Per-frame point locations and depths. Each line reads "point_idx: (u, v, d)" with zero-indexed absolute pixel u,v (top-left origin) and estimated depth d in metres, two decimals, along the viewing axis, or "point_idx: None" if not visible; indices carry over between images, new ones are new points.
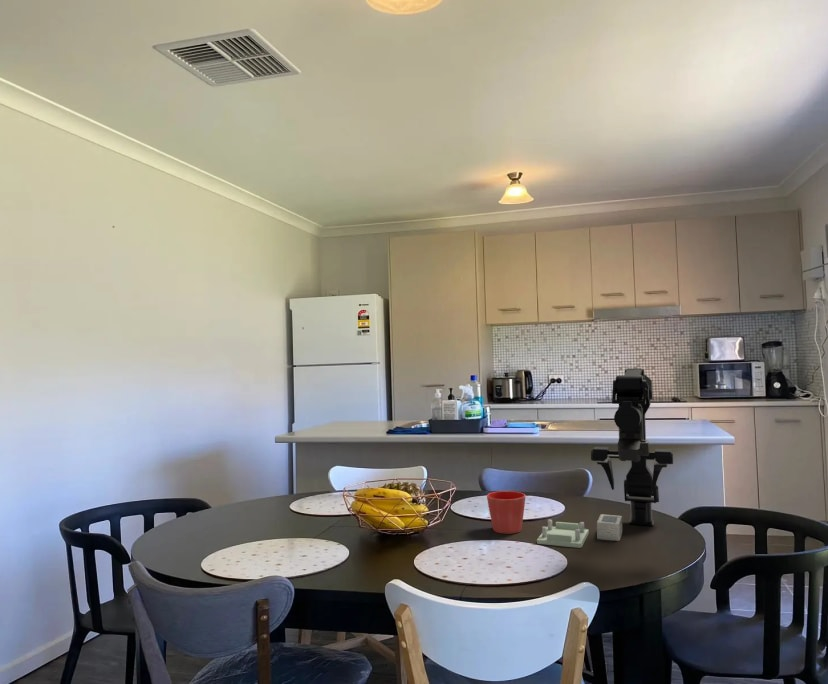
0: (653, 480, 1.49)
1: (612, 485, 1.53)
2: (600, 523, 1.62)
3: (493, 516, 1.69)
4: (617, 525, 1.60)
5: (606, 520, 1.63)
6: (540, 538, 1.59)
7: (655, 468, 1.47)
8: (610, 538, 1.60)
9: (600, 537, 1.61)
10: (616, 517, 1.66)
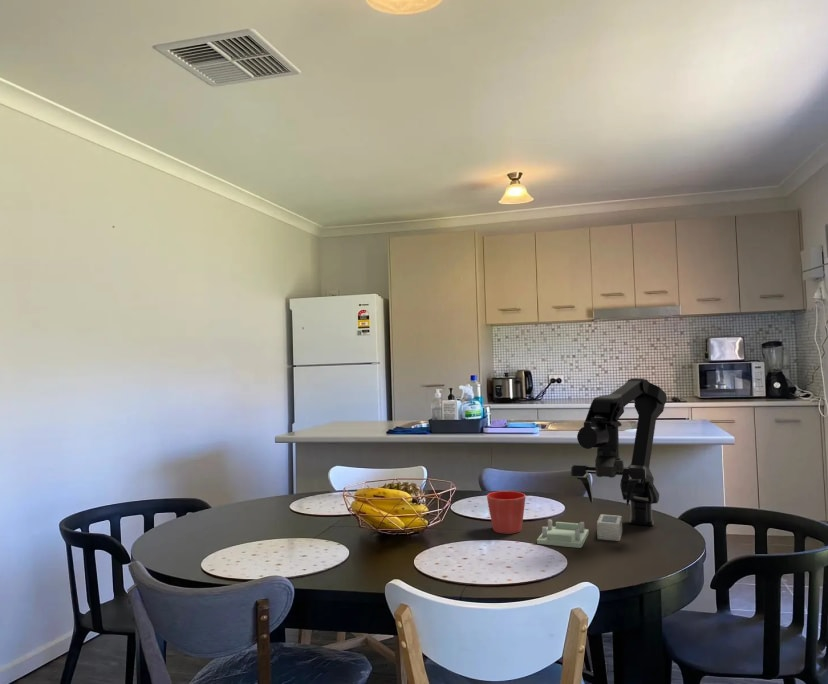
0: (628, 494, 1.62)
1: (591, 498, 1.66)
2: (600, 523, 1.61)
3: (493, 516, 1.69)
4: (617, 525, 1.60)
5: (606, 520, 1.63)
6: (540, 538, 1.59)
7: (630, 483, 1.61)
8: (610, 538, 1.60)
9: (600, 537, 1.61)
10: (616, 517, 1.66)
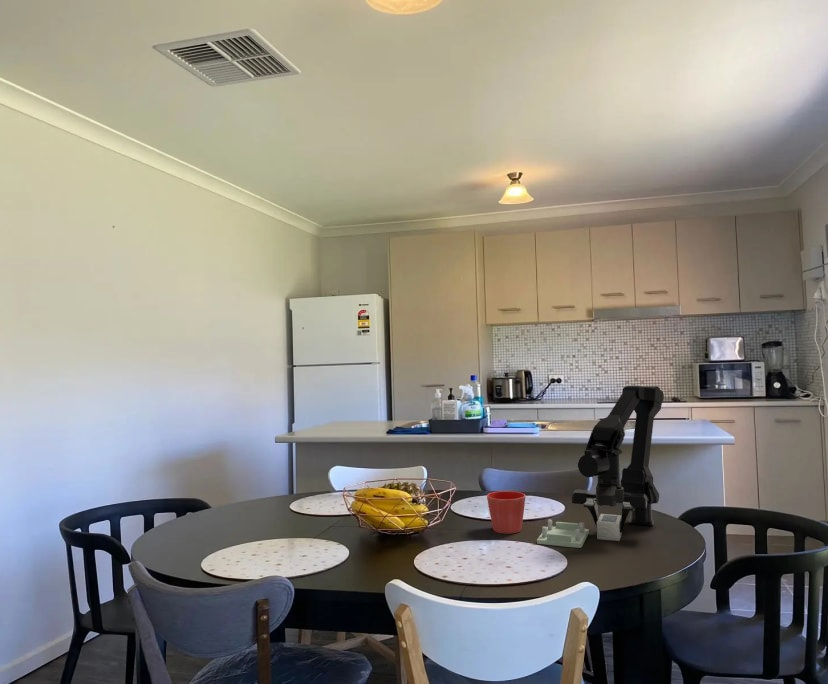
0: (621, 522, 1.63)
1: None
2: (600, 523, 1.62)
3: (493, 516, 1.69)
4: (617, 524, 1.60)
5: (606, 520, 1.63)
6: (540, 538, 1.59)
7: (623, 511, 1.62)
8: (610, 537, 1.60)
9: (600, 537, 1.61)
10: (616, 516, 1.66)
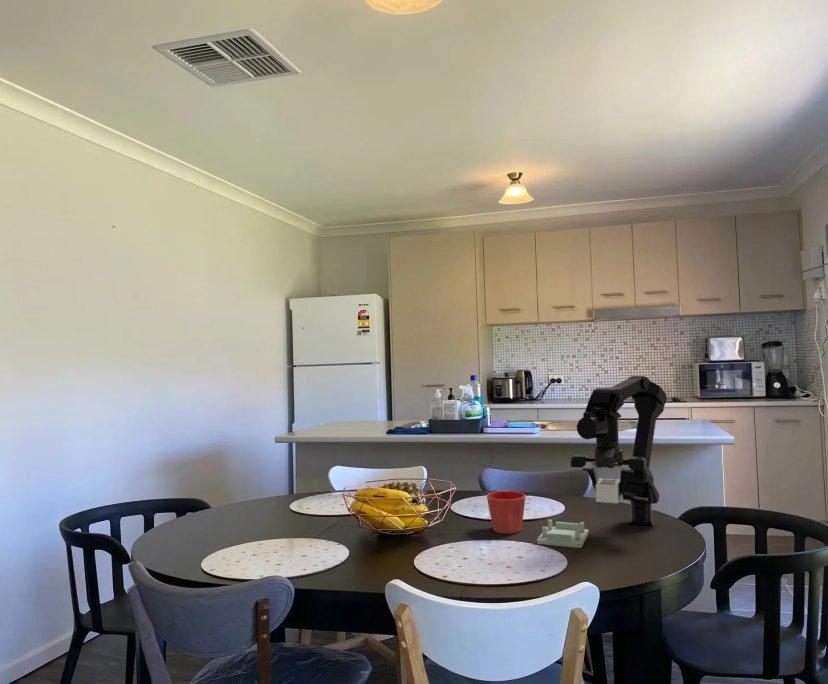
0: (620, 485, 1.63)
1: None
2: (599, 485, 1.62)
3: (493, 516, 1.69)
4: (616, 487, 1.60)
5: (605, 482, 1.63)
6: (540, 538, 1.59)
7: (622, 474, 1.62)
8: (609, 500, 1.61)
9: (599, 499, 1.62)
10: (615, 480, 1.66)
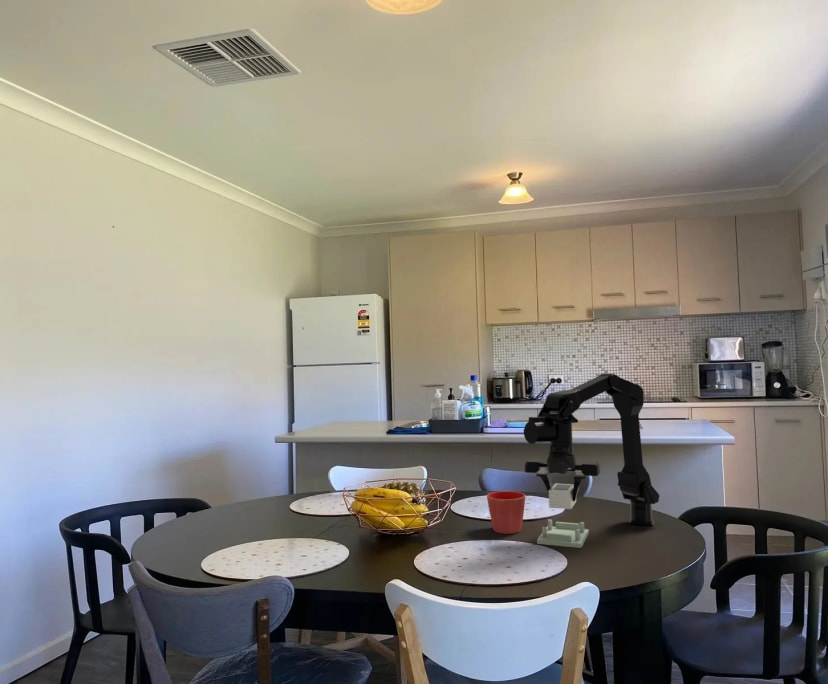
0: (574, 490, 1.61)
1: None
2: (552, 491, 1.60)
3: (493, 516, 1.69)
4: (568, 492, 1.58)
5: (558, 488, 1.61)
6: (540, 538, 1.59)
7: (576, 479, 1.60)
8: (562, 506, 1.59)
9: (552, 505, 1.60)
10: (569, 485, 1.64)
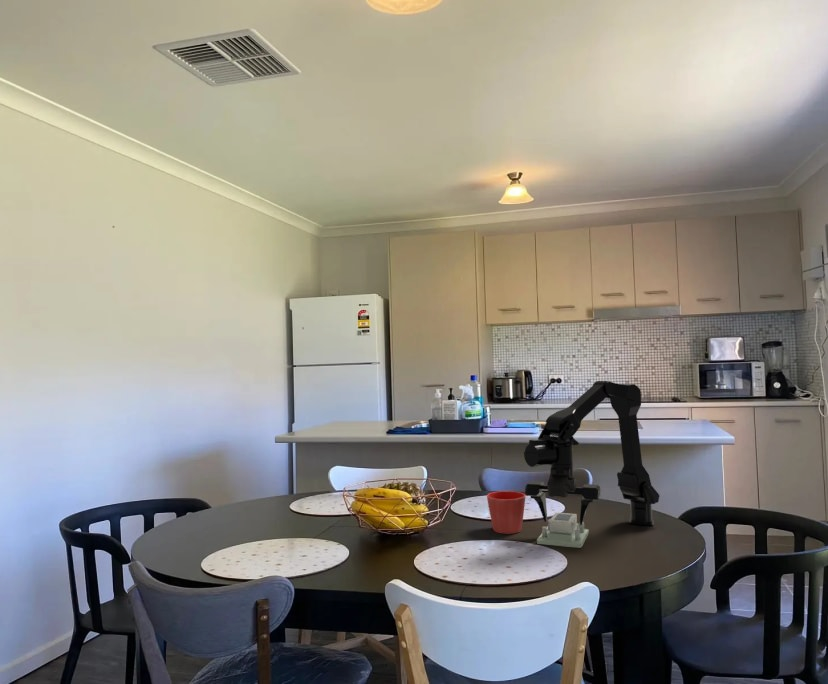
0: (581, 514, 1.60)
1: (545, 517, 1.64)
2: (552, 521, 1.59)
3: (493, 516, 1.69)
4: (569, 523, 1.58)
5: (559, 518, 1.61)
6: (540, 538, 1.59)
7: (583, 503, 1.59)
8: None
9: None
10: (570, 515, 1.64)
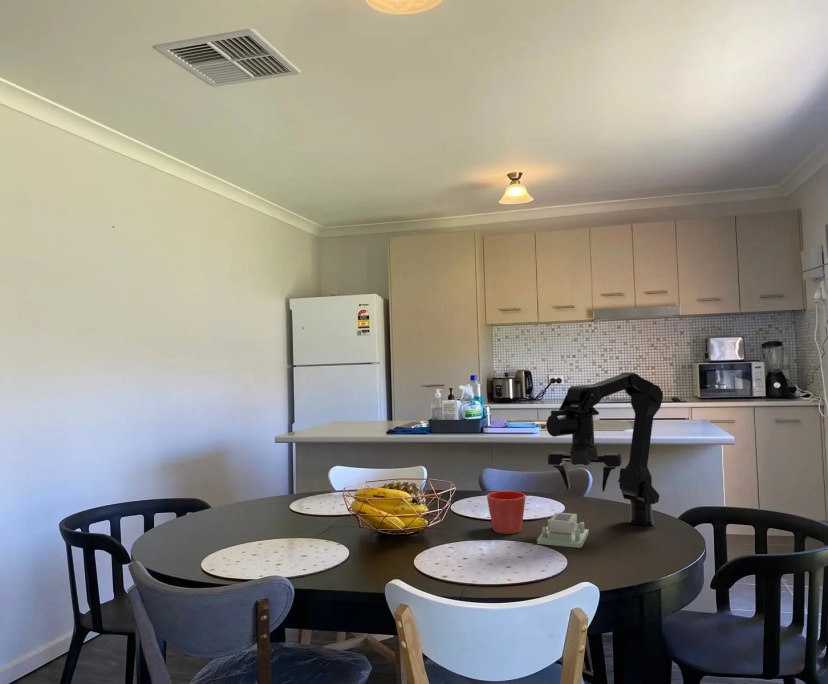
0: (603, 481, 1.65)
1: (567, 486, 1.69)
2: (552, 521, 1.59)
3: (493, 516, 1.69)
4: (569, 523, 1.58)
5: (559, 518, 1.61)
6: (540, 538, 1.59)
7: (605, 470, 1.63)
8: None
9: None
10: (570, 515, 1.64)
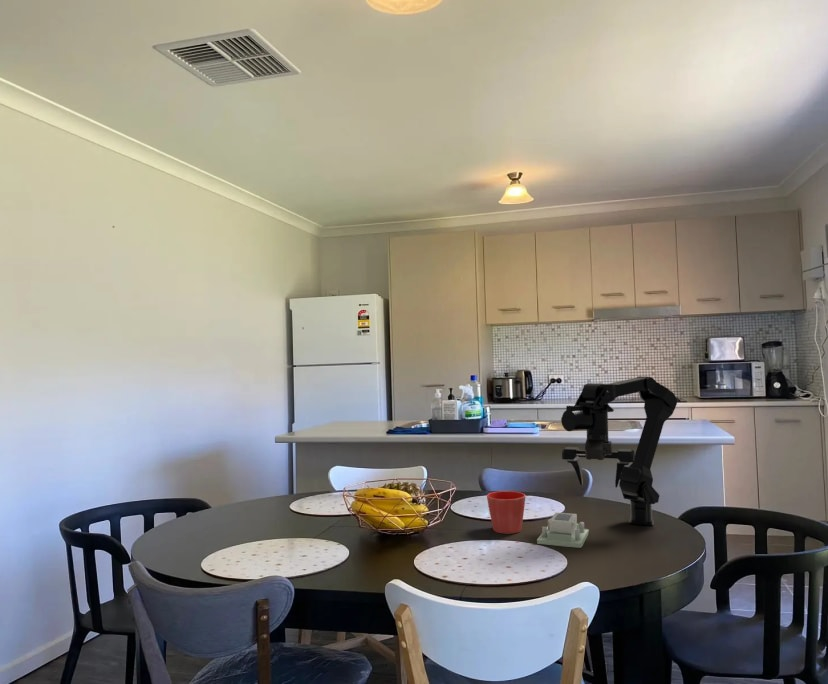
0: (616, 476, 1.67)
1: (581, 481, 1.71)
2: (552, 521, 1.59)
3: (493, 516, 1.69)
4: (569, 523, 1.58)
5: (559, 518, 1.61)
6: (540, 538, 1.59)
7: (618, 466, 1.66)
8: None
9: None
10: (570, 515, 1.64)
